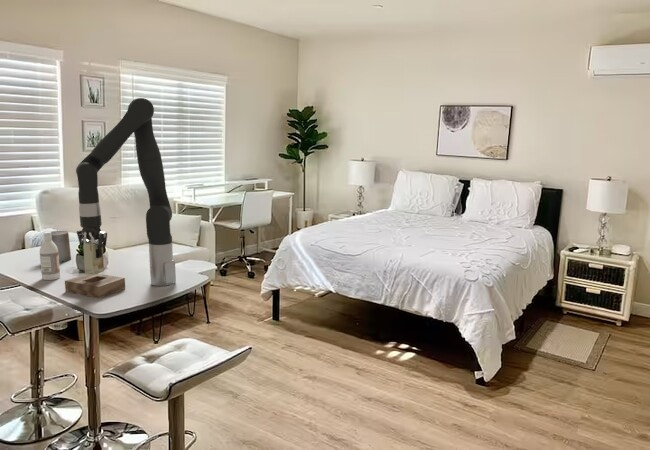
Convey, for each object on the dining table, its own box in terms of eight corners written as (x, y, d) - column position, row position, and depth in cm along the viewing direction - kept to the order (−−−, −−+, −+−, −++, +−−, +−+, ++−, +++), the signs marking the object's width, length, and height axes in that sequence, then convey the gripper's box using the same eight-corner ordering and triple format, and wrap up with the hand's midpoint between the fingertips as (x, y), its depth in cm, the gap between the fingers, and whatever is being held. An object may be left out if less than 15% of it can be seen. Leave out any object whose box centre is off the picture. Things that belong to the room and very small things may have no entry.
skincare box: (94, 275, 198) (92, 244, 195) (84, 274, 198) (82, 243, 196) (104, 271, 204) (103, 241, 201) (95, 270, 205) (93, 240, 202)
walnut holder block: (125, 288, 205) (124, 277, 204) (99, 298, 193) (98, 286, 192) (92, 283, 212) (91, 272, 211) (65, 291, 200) (64, 280, 199)
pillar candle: (64, 256, 254) (61, 227, 251) (75, 259, 249) (72, 229, 246) (44, 260, 246) (41, 230, 244) (54, 263, 241) (51, 232, 238)
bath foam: (59, 279, 216) (55, 233, 212) (40, 281, 213) (36, 234, 210) (61, 275, 222) (57, 230, 218) (43, 276, 220) (39, 231, 216)
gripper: (111, 214, 197) (115, 256, 201) (84, 211, 203) (88, 253, 206) (96, 217, 191) (99, 261, 194) (68, 214, 196) (72, 257, 199)
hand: (93, 256), depth 200 cm, fingers closed on skincare box, 4 cm apart
